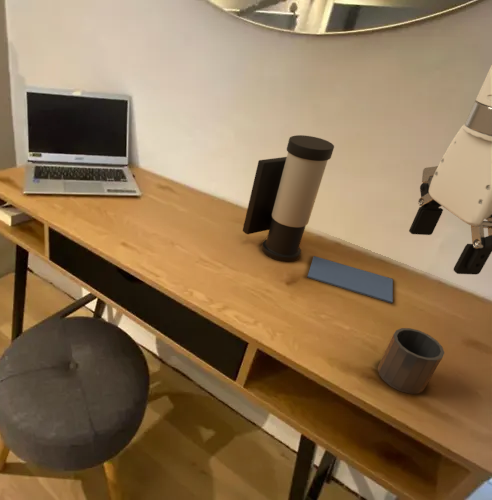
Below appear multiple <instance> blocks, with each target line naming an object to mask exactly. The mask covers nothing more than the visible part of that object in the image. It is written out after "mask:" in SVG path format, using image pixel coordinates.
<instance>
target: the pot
mask: <svg viewBox="0 0 492 500" xmlns="http://www.w3.org/2000/svg"><path fill="white" fill-rule="evenodd" d="M444 355H445V350H444V348H443V346H442V345H441V343H440V342H439V341H438V340H437V339H435V338H434V337H433V336H431V335H430V334H428V333H426V332H424V331H422V330H419V329H415V328H410V327H400V328H399V329H396V330H395V331H394V333H393V334H392V336H391V338H390V341H389V343H388V345H387V347H386V349H385V351H384V353H383V355H382V357H381V359H380V361H379V364H378V366H377V372H378V375H379V377H380V378H381V379H382V380H383V381H384V383H386V385H388V386H389V387H391V388H393V389H394V390H397V391H399V392H402V393H404V394H410V395H416V394H417V395H418V394H421V393H422V392H423V391H424V390H425V389H426V388H427V385H428V384H429V382H430V381H431V378H432V377H433V375H434V374H435V372H436V370H437V368H438V367H439V365H440V363H441V361H442V360H443V358H444Z"/></svg>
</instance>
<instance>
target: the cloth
mask: <svg viewBox="0 0 492 500" xmlns="http://www.w3.org/2000/svg"><path fill="white" fill-rule="evenodd" d="M307 278H308V279H311V280H315V281H318V282H319V283H320V282H321V283H324V284H328V285H331V286H333V287H336V288H341V289H344V290H346V291H349V292H353V293H357V294H360V295H363V296H367V297H369V298H372V299H376V300H380V301H382V302H386V303H389V304H392V303H393V302H394V294H393V293H394V292H393V291H394V284H393V283H394V279H393V278H391V277H388V276H384V275H381V274H378V273H375V272H370V271H367V270H363V269H360V268H356V267H354V266H350V265H346V264H343V263H339V262H336V261H332V260H329V259H325V258H322V257H320V256H315V255H313V256H312V259H311V263H310V268H309V271H308V273H307Z"/></svg>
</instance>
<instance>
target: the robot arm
mask: <svg viewBox="0 0 492 500" xmlns="http://www.w3.org/2000/svg"><path fill="white" fill-rule="evenodd" d="M421 176H422V177H421V184H420V186H419V192H420V198H418V202H417V203H418V206H419V207H418V210H417V212H416V214H415V216H414V218H413V221H412V223H411V225H410V227H409V230H408V232H409V233H410V234H411V235H418V236H419V235H422V236H431V235H433V233H434V231H435V229H436V226H437V225H438V222H439V221H440V218H441V216H442V214H443V211H444V209H445V210H447V211H448V212H450V213H451V214H453V215H454V216H456V217H457V218H458V219H460V220H461V221H462V222H464V223H465V224H467V225H469V226H470V230H471V242H472V243H467V244H465V246H464V248H463V250H462V251H461V253H460V256H459V257H458V259H457V261H456V263H455V265H454V267H453V272H455V273H456V274H457V275H479V274H480V273H481V272H482V270H483V268H484V267H485V265H486V263H487V261H488V259H489V257H490V256H491V254H492V64H491V65H490V67H489V70H488V72H487V74H486V76H485V78H484V81H483V82H482V84H481V87H480V89H479V91H478V94H477V96H476V98H475V100H474V103H473V105H472V107H471V109H470V112H469V114H468V116H467V118H466V120H465V122H464V124H462V126H461V127H460V128H459V130H458V131H457V133H456V134H455V136H453V139H452V140H451V142H450V143H449V146H448V147H447V148H446V151H445V152H444V154H443V156H442V158H441V160H440V161H439V164H438V165H436V166H428V167H424V168H423V169H422V175H421ZM441 207H443V208H444V209H443V208H441ZM485 229H487V236H485Z"/></svg>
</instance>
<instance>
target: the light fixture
mask: <svg viewBox="0 0 492 500" xmlns="http://www.w3.org/2000/svg"><path fill="white" fill-rule="evenodd" d="M334 148H335V145H334V144H333V143H332V142H330V141H329V140H326V139H324V138H321V137H317V136H311V135H304V134H303V135H302V134H301V135H300V134H299V135H298V134H297V135H292V136H290V137H289V138H288V142H287V145H286V152H287V154H286V156H282V157H274V158H267V159H259V160H258V162H257V166H256V170H255V175H254V179H253V184H252V187H251V191H250V196H249V200H248V205H247V209H246V214H245V217H244V223H243V226H242V232H243V233H245V234H246V235H251V234H256V233H260V232H261V233H262V232H266V231H268V232H267V236H266V238H265V239H264V240H263V241H262V242H261V243H262V244H261V251H262V252H263V254H264V255H265V256H266V257H268V258H270V259H272V260H275V261H279V262H283V263H290V262H295V261H297V260H299V259H300V256H301V253H302V249H301V247H300V245H301V243H302V238H303V236H304V233H305V229H306V226H307V225H308V224H309V222H310V219H311V216H312V212H313V209H314V205H315V203H316V199H317V196H318V192H319V190H320V186H321V183H322V180H323V176H324V174H325V170H326V167H327V164H328V161H329V160H330V159H331V158H332V156H333V152H334Z"/></svg>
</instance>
